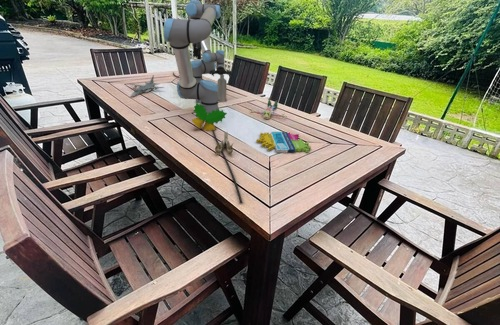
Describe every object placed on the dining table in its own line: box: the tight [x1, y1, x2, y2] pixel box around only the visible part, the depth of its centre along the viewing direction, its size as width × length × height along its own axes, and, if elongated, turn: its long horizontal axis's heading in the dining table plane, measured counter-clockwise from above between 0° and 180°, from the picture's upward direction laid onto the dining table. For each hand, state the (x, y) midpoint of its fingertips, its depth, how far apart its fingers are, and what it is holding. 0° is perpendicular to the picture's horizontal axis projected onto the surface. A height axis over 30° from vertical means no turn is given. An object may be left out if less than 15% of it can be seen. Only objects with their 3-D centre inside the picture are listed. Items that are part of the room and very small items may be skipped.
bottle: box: [216, 74, 227, 103], centre depth 215 cm, size 7×7×21 cm
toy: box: [249, 99, 287, 120], centre depth 196 cm, size 28×7×30 cm
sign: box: [256, 131, 312, 154], centre depth 152 cm, size 26×2×30 cm
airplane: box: [129, 74, 165, 98], centre depth 227 cm, size 38×31×10 cm
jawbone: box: [214, 131, 234, 156], centre depth 136 cm, size 9×15×10 cm
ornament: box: [191, 101, 228, 132], centre depth 162 cm, size 21×8×15 cm, turn 105°
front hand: (197, 57), depth 195 cm, fingers open, 13 cm apart
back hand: (221, 74), depth 219 cm, fingers open, 13 cm apart
